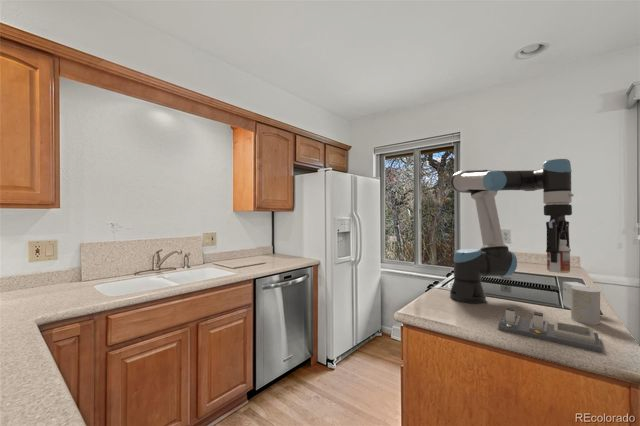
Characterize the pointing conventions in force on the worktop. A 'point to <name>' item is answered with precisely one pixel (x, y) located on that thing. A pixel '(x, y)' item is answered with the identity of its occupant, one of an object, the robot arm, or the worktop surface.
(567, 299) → the small box
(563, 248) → the pill bottle
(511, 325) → the panel
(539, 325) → the toggle
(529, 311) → the worktop surface
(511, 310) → the toggle
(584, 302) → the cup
